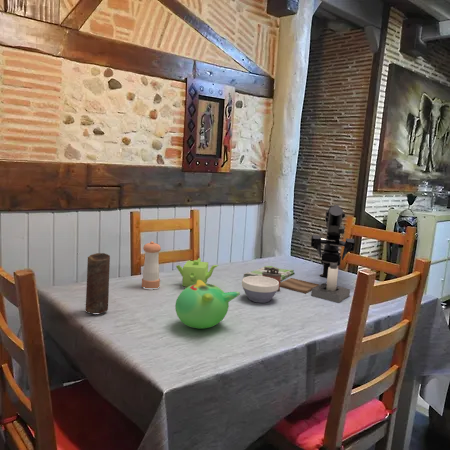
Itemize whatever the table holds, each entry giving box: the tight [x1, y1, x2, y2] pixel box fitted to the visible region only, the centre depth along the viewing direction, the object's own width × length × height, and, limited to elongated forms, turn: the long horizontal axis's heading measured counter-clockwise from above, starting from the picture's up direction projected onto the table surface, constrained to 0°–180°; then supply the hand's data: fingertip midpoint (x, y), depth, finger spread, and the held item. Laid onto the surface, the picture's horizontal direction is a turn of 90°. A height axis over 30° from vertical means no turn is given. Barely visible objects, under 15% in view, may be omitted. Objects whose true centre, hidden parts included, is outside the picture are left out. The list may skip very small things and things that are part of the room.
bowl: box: [241, 276, 279, 304], centre depth 172 cm, size 14×14×8 cm
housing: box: [310, 282, 351, 304], centre depth 183 cm, size 12×12×3 cm
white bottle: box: [326, 263, 339, 292], centre depth 182 cm, size 4×4×14 cm
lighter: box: [262, 266, 281, 293], centre depth 185 cm, size 8×3×10 cm, turn 84°
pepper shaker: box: [141, 240, 162, 288], centre depth 178 cm, size 7×7×19 cm
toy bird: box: [174, 280, 241, 330], centre depth 141 cm, size 18×17×15 cm
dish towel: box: [243, 265, 295, 282], centre depth 209 cm, size 17×23×4 cm
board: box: [280, 277, 320, 294], centre depth 194 cm, size 14×14×1 cm
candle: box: [85, 252, 111, 314], centre depth 147 cm, size 8×7×20 cm
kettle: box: [175, 257, 219, 289], centre depth 184 cm, size 15×14×11 cm
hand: (331, 258), depth 188 cm, fingers open, 9 cm apart
